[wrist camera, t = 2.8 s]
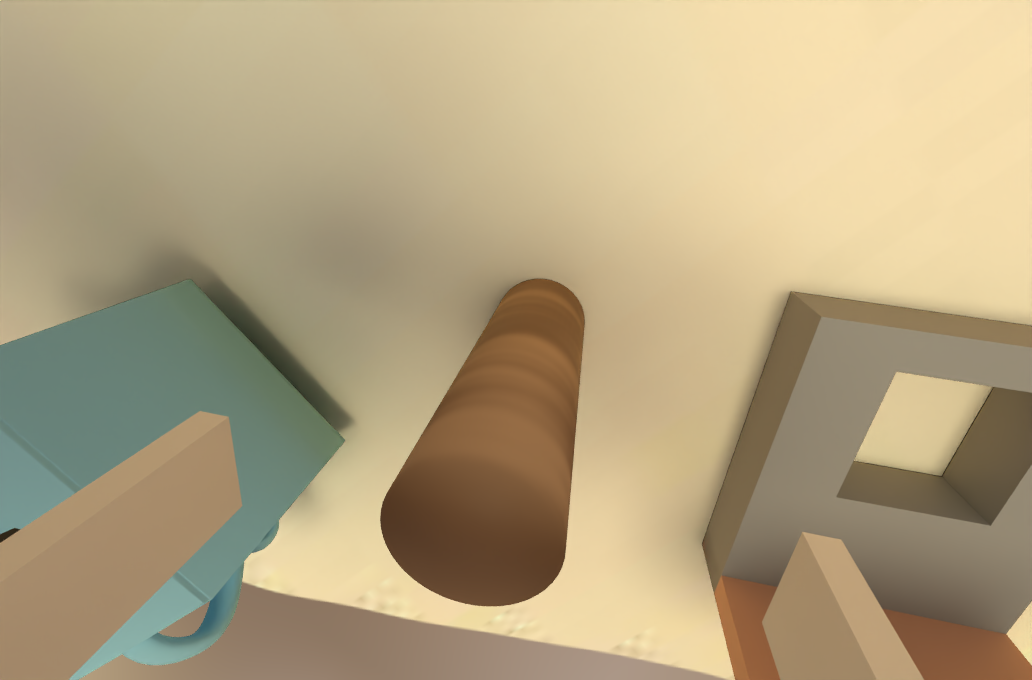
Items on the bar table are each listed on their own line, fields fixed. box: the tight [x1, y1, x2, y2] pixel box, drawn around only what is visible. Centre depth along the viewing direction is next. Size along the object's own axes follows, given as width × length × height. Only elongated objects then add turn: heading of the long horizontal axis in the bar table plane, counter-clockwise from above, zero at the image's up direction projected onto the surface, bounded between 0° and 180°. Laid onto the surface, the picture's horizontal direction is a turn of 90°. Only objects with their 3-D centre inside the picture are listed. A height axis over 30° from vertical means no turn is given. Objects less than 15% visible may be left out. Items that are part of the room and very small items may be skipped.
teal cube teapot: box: [0, 279, 345, 680], centre depth 22 cm, size 18×16×13 cm
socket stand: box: [702, 292, 1032, 680], centre depth 15 cm, size 15×13×16 cm
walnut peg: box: [380, 279, 585, 606], centre depth 16 cm, size 4×4×13 cm
